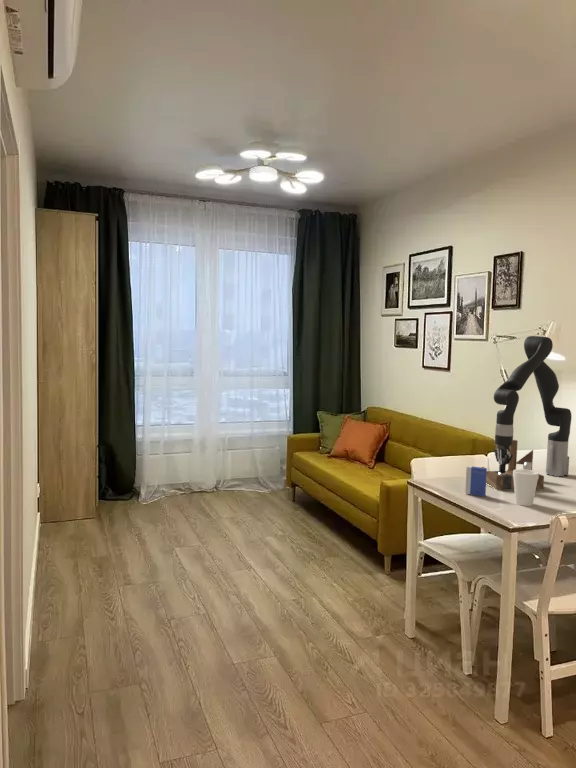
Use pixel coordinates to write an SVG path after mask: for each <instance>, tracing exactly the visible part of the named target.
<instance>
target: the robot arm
mask: <svg viewBox="0 0 576 768" xmlns="http://www.w3.org/2000/svg"><path fill="white" fill-rule="evenodd" d="M553 346H554V344H553V341H552V339H551V337H547V336H542V335H541V336H538V335H530V336H527V337H526V338H525V340H524V341H523V349H524V352H525V355H526V356H525V357H527V360H526V361H524V362H523V363H521V364H519V366H517V367H516V368H515V369H514V370H513V371H512V372H511V374H510V375H509V377H508V378H507V380H505V382H503V383H502V384H501V385H499V387H497V389H495V392H494V394H493V401H494V402H495V403H496V404H497V405H501V406H505V408H504V409H501V410H498V411H496V412H497V413H496V420H495V421H496V423H495V430H494V431H495V433H494V445H496V449H494V450H493V452H494V456H495V459H496V462H498V464H499V466H498V471H499V472H500V473H505V471H506V466H507V465H508V464H509V462H510V460H511V458H512V456H513V455H512V454H510V453H509V452H510V448H509V447H510V446H512V445H513V440H514V417H515V412H516V410H517V407H518V404H519V399H520V397H519V393H518V391H521V390H522V388H523V387H524V386H525V384H526V383H527V381H528V380H529V378H530V377H531V375H532V374H533V375H534V379H535V383H536V387H537V390H538V392H539V395H540V399H541V403H542V407H543V409H542V410H543V414H544V418H545V422H546V423H547V424H548V425H549V426H553V427H558V428H559V429H558V430H557V431H555V432H551V433H550V432H549V433H548V435H547V448H546V451H547V452H546V465H545V474H546V473H547V474H549V475H548V476H551V475H554V476H553V477H559V476H563V477H565V476H564V475H568V476H569V472H570V471H569V467H570V456H568V455H569V453H568V452H569V439H570V433H571V425H572V411H571V410H570V408H566V407H556V406H555V405H554V399H555V397H556V395H557V393H558V391H559V387H560V384H559V381H558V378H557V374H556V373H555V371H554V369H552V368H551V366H549V365H548V364H547V363H546V362H545V360H546V359H547V358H548V357H549V355H550V354H551V353H552V351H553V348H554V347H553ZM547 474H546V475H547Z"/></svg>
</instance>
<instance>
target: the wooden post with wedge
mask: <svg viewBox="0 0 576 768" xmlns="http://www.w3.org/2000/svg"><path fill="white" fill-rule="evenodd" d="M509 448H510V452H509V453H510V454H512V455H513V456H512V458H511V460H510V462H509V464H507V465H508V466H507V470H506V471H513V470H516V469H517V465H522V466H523V467H522V469H524V462H531V463H532V464H534V463H533V461H534V460H533V459H534V449H532V450H530V451H529V452H528V453H527V454H525V455H524V456H523V457H522V458H520V459H519V460H518V461H517V458H518V456H517V455H518V440H516V439H513V445H512V446H510V447H509Z"/></svg>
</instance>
